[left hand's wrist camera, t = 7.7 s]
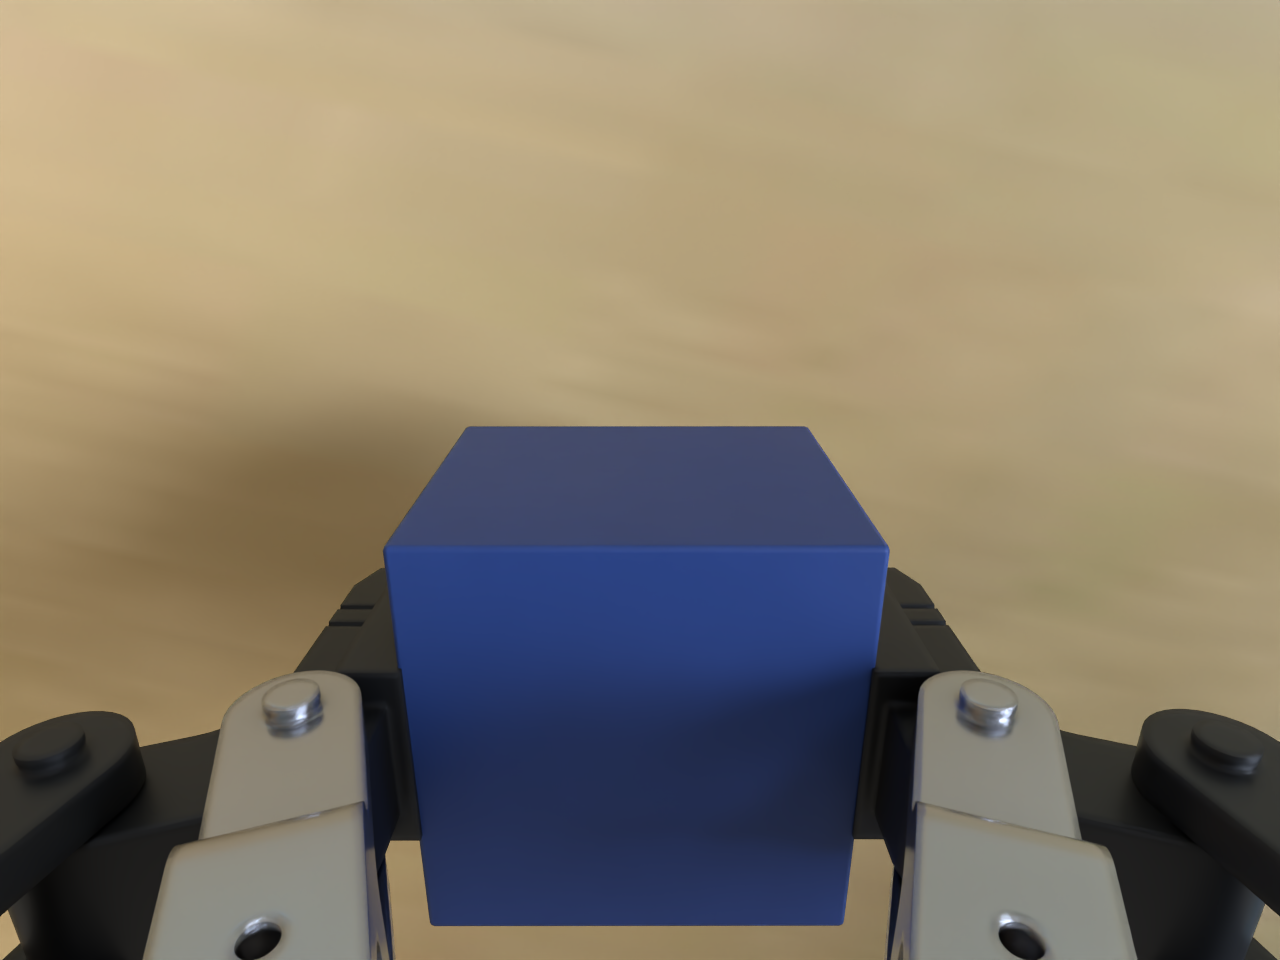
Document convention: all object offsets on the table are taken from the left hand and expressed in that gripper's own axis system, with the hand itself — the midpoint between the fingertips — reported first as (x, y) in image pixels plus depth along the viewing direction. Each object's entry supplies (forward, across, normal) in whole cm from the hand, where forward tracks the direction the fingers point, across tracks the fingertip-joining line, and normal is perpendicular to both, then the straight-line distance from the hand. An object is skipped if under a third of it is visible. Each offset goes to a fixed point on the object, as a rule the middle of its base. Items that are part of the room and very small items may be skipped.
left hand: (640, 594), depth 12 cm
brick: (0, 0, 0) cm, 0 cm away
